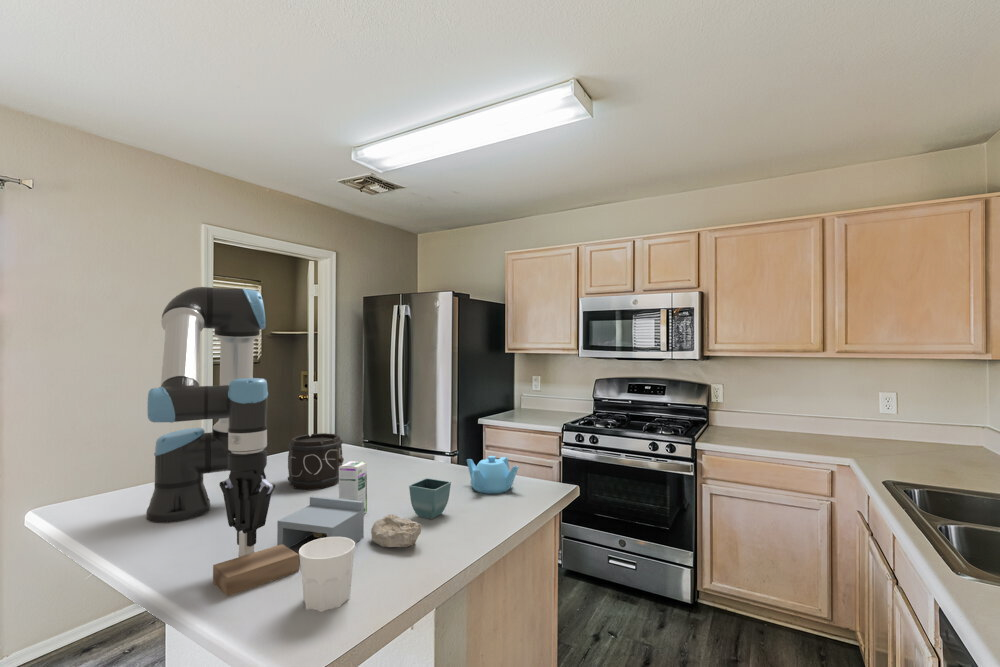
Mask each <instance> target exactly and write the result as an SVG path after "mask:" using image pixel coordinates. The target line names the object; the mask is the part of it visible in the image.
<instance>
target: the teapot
mask: <svg viewBox="0 0 1000 667" xmlns="http://www.w3.org/2000/svg"><path fill="white" fill-rule="evenodd" d="M466 463H467V467H468V472H469V476H470V486H471V487H472V488H473V490H475V491H476V492H478V493H480V494H489V495H491V494H493V495H494V494H502V493H505V492H508V490H510V488H511V487H512V486H513V483H514V481H515V478H516V475H517V473H518V469H519V466H518V465H517V466H516V465H513V466H512V468H511V469H510V464H509V459H508V457H507V456H506V457H505V456H501V457H500V458H497V456H496V455H488V456H487V458H486V459H481V460H480V461H479V462H478V463H477V465H476V464H475V463H474V460H473V459H471V458H468V459H466Z"/></svg>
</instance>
